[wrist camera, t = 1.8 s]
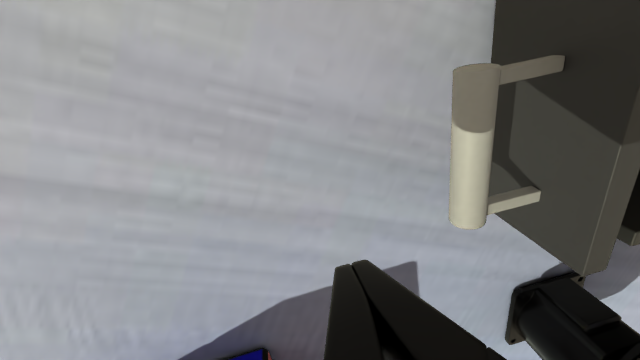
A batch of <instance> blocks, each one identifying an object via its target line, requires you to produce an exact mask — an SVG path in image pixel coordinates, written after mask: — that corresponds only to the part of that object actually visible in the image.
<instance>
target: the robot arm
mask: <svg viewBox="0 0 640 360" xmlns="http://www.w3.org/2000/svg"><path fill="white" fill-rule="evenodd" d="M585 278H586V276H581V275H580V274H578V273H577V272H574V273H570V274H567V275H564V276H560V277H557V278H554V279H550V280H547V281H544V282H540V283H537V284H534V285H530V286H527V287H524V288H520V289H517V290H515V291H514V292H513V294H512V297H511V304H510V310H509V316H508V322H507V328H506V334H505V340H506V342H507V343H508V344H509V345H512V344H516V343H519V342H522V341H526V342H527V343H528V344H529V345H530V346H531V348H532V349H533V350H534V351H535V352H536V353H537V354H538V355H539V356H540V358H541V359H542V360H640V334H639V333H637V332H636V331H635V330H633V329H632V328H631V327H629V326H628V325H627V324H625V323H624V322H623V321H622V320H621V317H620V316H619V315H618V314H617V313H616V312H614V311H613V310H612V309H610V308H609V307H608V306H606V305H605V304H604V303H602V302H601V301H600V300H598V299H597V298H596V297H594V296H593V295H592V294H590V293H589V292H588V291H586V290H585V289H584V288H583V285H584V281H585ZM324 360H507V359H505V358H504V357H502V356H501V355H500V354H498V353H497V352H495V351H494V350H493V349H491V348H490V347H488V348H486V345H485V344H484V343H483V342H481V341H480V340H478V339H477V338H476V337H474V336H473V335H471V334H470V333H469V332H467V331H466V330H464V329H463V328H462V327H460V326H459V325H457V324H456V323H455V322H453V321H452V320H450V319H449V318H448V317H446V316H445V315H443V314H442V313H441V312H439V311H438V310H436V309H435V308H434V307H432V306H431V305H429V304H428V303H427V302H425V301H424V300H422V299H421V298H420V297H418V296H417V295H415V294H414V293H413V292H411V291H410V290H408V289H407V288H406V287H404V286H403V285H402V284H400V283H399V282H397V281H396V280H395V279H393V278H392V277H390V276H389V275H388V274H386V273H385V272H383V271H382V270H381V269H379V268H378V267H376V266H375V265H374V264H372V263H371V262H369V261H368V260H361V261H357V262H353V263H352V264H351V265H350V264H346V265H342V266H339V267H336V268H335V273H334V281H333V289H332V297H331V304H330V312H329V320H328V328H327V336H326V344H325V352H324Z"/></svg>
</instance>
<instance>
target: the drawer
mask: <svg viewBox="0 0 640 360" xmlns="http://www.w3.org/2000/svg"><path fill="white" fill-rule="evenodd" d="M493 213H495V214H496V215H497V216H499V217H500V218H502V219H503V220H504V221H506V222H507V223H508V224H510V225H511V226H513V227H514V228H515V229H517V230H518V231H520V232H521V233H522V234H524V235H525V236H527V237H528V238H529V239H531V240H532V241H534V242H535V243H536V244H538V245H539V246H541V247H542V248H543V249H545V250H546V251H548V252H549V253H550V254H552V255H553V256H554V257H556V258H557V259H559V260H560V261H561V262H563V263H564V264H566V265H567V266H568V267H570V268H571V269H573V270H574V271H575V272H577V273H578V274H580V275H581V276H586V275H590V274H593V273H596V272H600V271H603V270H606V268H607V265H608V262H609V259H610V256H611V253H612V250H613V247H614V244H615V241H616V238H617V239H619V240H621V241H622V242H624V243H626V244H628V245H630V246H634V245H638V244H640V0H496V8H495V21H494V33H493V45H492V57H491V63H483V64H472V65H466V66H461V67H458V68H456V69H454V70H453V90H452V124H451V158H450V193H449V220H450V222H451V223H452V224H453V225H454V226H456V227H459V228H462V229H470V230H471V229H478V228H481V227H482V226H484V224H485V223H486V215H489V214H493Z"/></svg>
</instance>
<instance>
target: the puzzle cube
mask: <svg viewBox="0 0 640 360" xmlns="http://www.w3.org/2000/svg"><path fill="white" fill-rule="evenodd" d="M227 360H272V359H271V356H270V354H269V352H268V350H266V349H264V348H262V349H258V350H255V351H252V352H249V353H246V354H243V355H240V356H237V357H233V358H230V359H227Z"/></svg>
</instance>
